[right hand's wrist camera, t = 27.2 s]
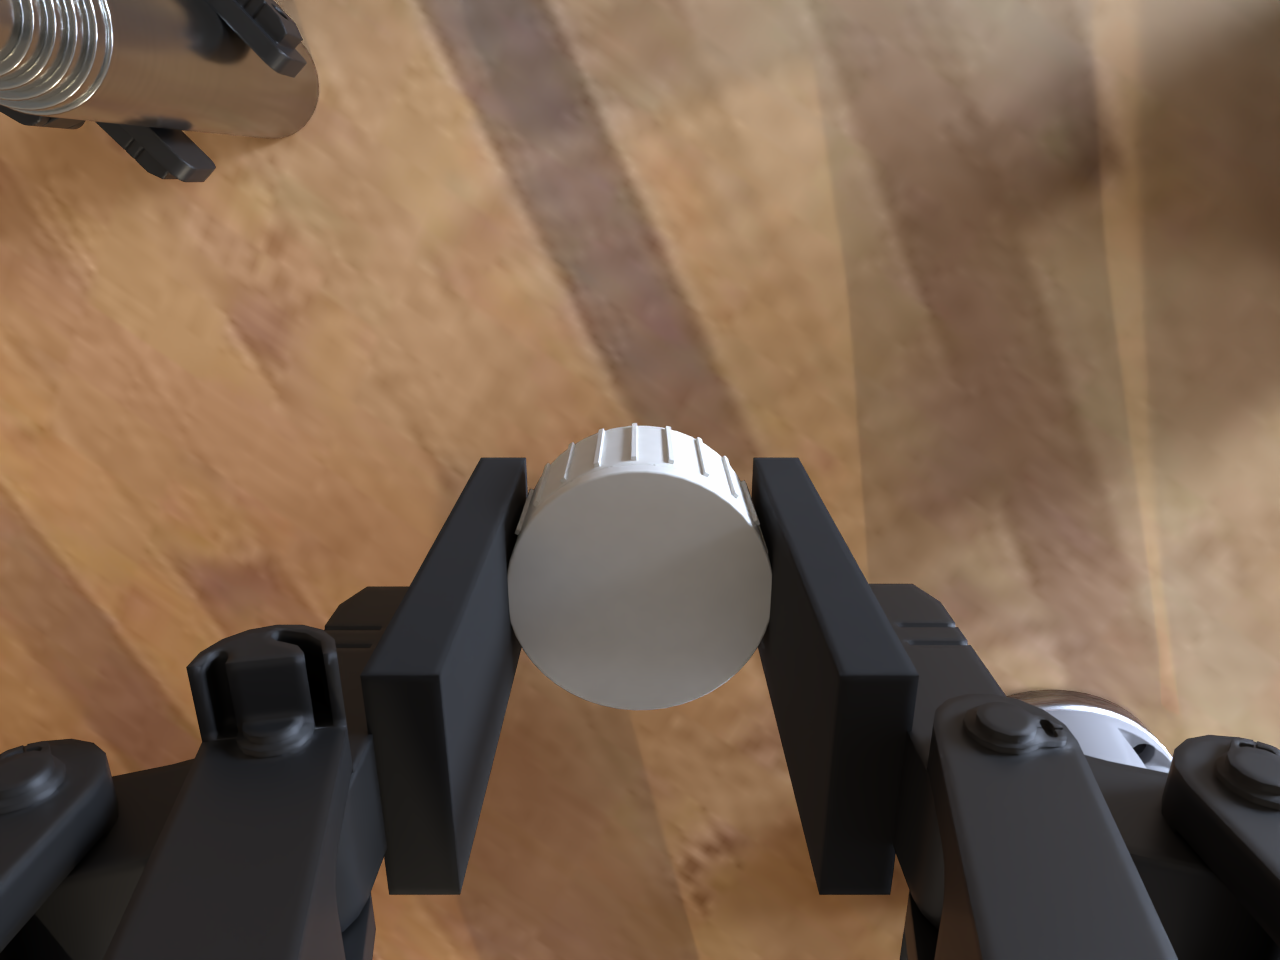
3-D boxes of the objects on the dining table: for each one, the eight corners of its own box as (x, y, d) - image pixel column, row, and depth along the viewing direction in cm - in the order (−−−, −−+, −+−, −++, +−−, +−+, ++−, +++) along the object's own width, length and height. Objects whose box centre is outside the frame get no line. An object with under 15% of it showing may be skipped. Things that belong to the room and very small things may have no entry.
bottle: (201, 115, 36) (-270, 51, 18) (221, 2, 35) (-271, -202, 16) (306, 154, 37) (-42, 132, 18) (330, 44, 35) (-23, -104, 17)
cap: (804, 501, 14) (834, 560, 12) (672, 674, 15) (678, 756, 13) (602, 374, 13) (595, 412, 11) (480, 565, 15) (451, 634, 12)
